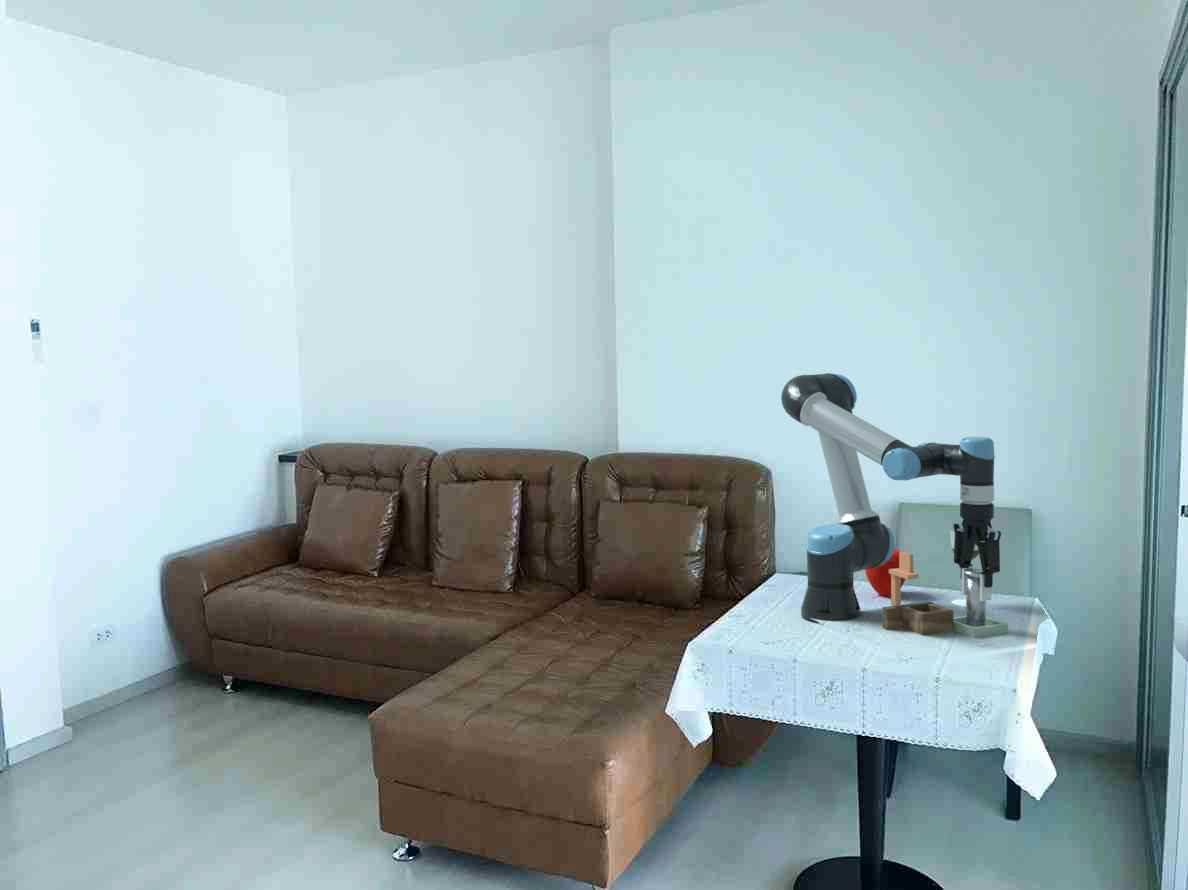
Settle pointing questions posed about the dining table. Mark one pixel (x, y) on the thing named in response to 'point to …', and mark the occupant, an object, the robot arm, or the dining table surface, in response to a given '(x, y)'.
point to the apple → (884, 575)
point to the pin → (974, 599)
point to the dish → (989, 629)
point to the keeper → (904, 572)
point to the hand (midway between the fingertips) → (976, 597)
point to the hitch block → (918, 618)
